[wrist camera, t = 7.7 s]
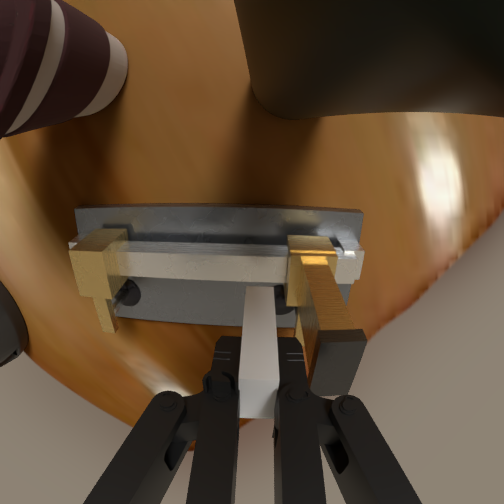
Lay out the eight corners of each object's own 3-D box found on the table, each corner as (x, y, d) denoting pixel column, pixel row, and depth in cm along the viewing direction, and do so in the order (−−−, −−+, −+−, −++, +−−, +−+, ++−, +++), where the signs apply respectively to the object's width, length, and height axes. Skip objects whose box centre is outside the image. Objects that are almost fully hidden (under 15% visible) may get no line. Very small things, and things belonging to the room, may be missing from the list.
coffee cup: (141, 126, 20) (-9, 152, 6) (47, 135, 20) (-88, 176, 6) (152, 12, 16) (39, -71, 2) (55, 36, 16) (-70, 16, 2)
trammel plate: (101, 308, 27) (76, 345, 22) (79, 205, 23) (40, 229, 17) (339, 320, 27) (353, 364, 22) (359, 209, 22) (388, 237, 17)
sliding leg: (279, 313, 25) (288, 434, 14) (285, 230, 22) (309, 339, 11) (313, 313, 25) (339, 431, 14) (325, 231, 22) (379, 336, 11)
